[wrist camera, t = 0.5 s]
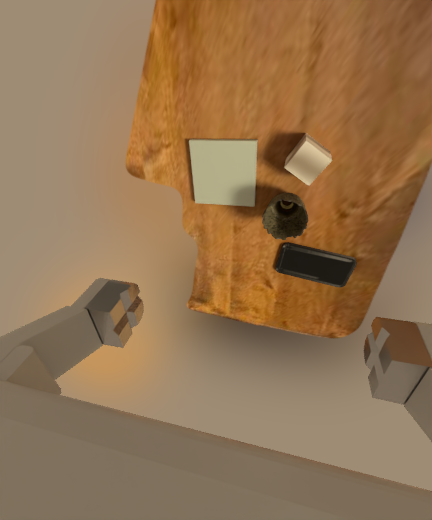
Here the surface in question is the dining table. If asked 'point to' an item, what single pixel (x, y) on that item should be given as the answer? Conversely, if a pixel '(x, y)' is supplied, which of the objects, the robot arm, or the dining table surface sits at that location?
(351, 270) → the phone
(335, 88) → the dining table surface
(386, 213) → the dining table surface
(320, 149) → the letter cube
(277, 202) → the cup
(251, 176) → the sage board
